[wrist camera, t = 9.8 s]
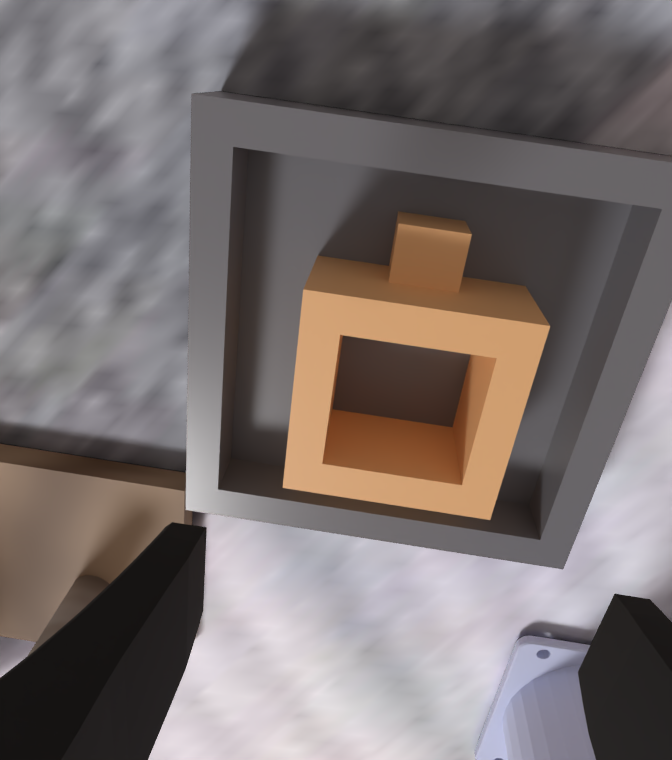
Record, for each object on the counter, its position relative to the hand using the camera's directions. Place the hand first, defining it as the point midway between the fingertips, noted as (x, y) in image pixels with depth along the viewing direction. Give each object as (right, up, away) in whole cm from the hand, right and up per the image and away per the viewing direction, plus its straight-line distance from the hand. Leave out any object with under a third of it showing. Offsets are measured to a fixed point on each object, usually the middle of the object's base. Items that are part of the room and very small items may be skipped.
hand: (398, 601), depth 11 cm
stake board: (-12, -3, +13) cm, 18 cm away
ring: (+1, +4, +7) cm, 9 cm away
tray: (+1, +5, +8) cm, 9 cm away
